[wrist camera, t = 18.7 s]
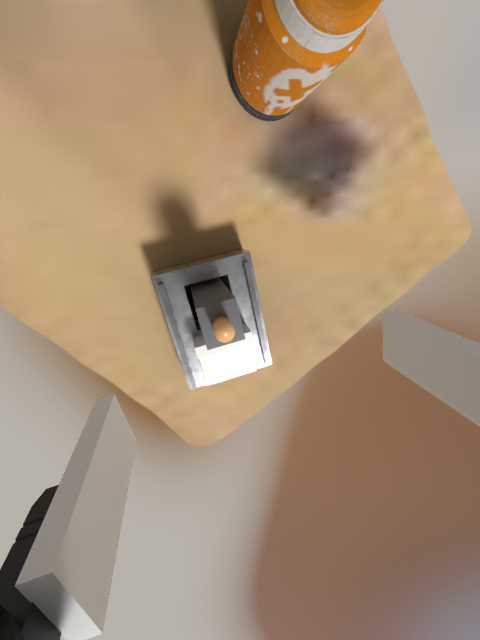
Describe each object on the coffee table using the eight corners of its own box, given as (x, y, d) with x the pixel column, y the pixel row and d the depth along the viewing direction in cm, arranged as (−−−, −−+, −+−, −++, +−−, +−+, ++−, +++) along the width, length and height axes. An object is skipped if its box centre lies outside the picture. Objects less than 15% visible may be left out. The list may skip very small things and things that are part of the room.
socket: (153, 271, 36) (150, 278, 31) (242, 249, 37) (251, 252, 33) (188, 375, 41) (190, 393, 37) (264, 352, 43) (274, 366, 39)
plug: (189, 284, 37) (196, 316, 24) (218, 276, 38) (241, 304, 24) (198, 314, 39) (210, 361, 26) (226, 307, 39) (251, 348, 26)
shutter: (193, 337, 35) (194, 348, 32) (245, 322, 36) (251, 331, 33) (207, 382, 38) (209, 396, 35) (255, 367, 39) (262, 379, 36)
